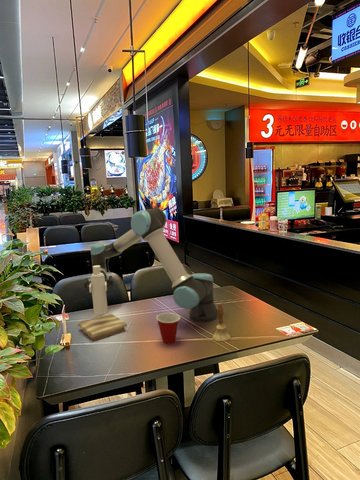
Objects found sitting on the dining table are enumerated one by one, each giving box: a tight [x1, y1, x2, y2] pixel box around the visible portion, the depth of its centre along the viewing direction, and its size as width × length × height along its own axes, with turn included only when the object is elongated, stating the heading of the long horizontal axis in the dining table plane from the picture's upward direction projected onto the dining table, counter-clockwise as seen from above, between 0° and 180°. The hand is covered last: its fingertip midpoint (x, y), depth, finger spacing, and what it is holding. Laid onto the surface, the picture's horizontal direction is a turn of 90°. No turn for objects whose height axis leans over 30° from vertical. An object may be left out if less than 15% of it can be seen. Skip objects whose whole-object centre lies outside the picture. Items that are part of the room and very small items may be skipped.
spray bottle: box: [90, 265, 108, 315], centre depth 176 cm, size 7×7×25 cm
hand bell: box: [212, 303, 232, 342], centre depth 163 cm, size 8×8×16 cm
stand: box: [77, 312, 128, 341], centre depth 179 cm, size 18×18×4 cm
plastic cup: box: [155, 312, 181, 345], centre depth 163 cm, size 11×11×12 cm
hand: (98, 288), depth 171 cm, fingers closed on spray bottle, 7 cm apart
